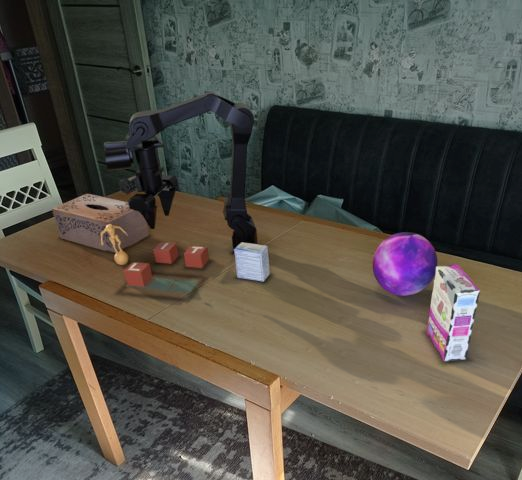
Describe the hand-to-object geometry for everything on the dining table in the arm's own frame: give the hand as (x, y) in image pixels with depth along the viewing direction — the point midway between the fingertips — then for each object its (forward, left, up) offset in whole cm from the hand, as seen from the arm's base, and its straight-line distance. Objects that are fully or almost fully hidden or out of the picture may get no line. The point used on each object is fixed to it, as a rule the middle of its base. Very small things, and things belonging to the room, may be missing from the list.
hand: (159, 222), depth 148 cm
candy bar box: (-78, +27, -12) cm, 83 cm away
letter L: (+2, +14, -11) cm, 18 cm away
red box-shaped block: (0, 0, -12) cm, 12 cm away
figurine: (+13, +4, -12) cm, 18 cm away
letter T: (-10, +1, -12) cm, 16 cm away
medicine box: (-28, +5, -12) cm, 31 cm away
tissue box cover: (+28, -12, -12) cm, 33 cm away
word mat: (-5, +14, -12) cm, 19 cm away
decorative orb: (-67, +6, -12) cm, 68 cm away
